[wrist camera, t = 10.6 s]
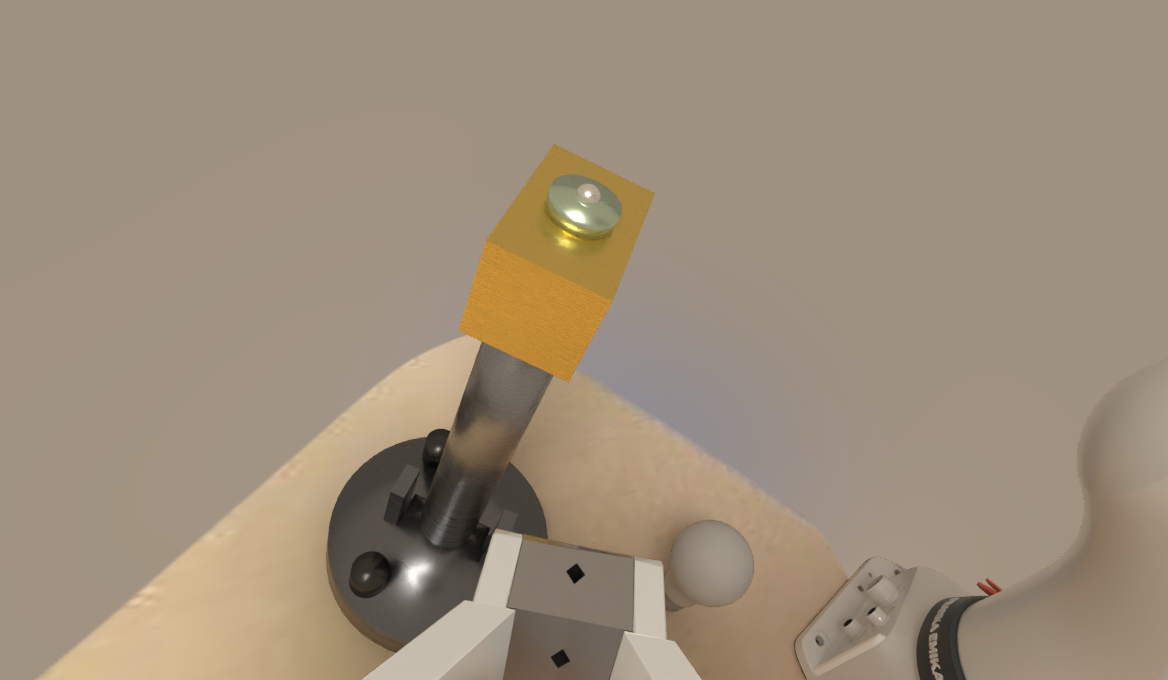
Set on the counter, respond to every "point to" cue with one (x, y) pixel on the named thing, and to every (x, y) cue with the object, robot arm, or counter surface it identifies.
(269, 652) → the counter surface
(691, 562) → the lightbulb
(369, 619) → the tribrach base
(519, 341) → the instrument mast
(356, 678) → the counter surface
